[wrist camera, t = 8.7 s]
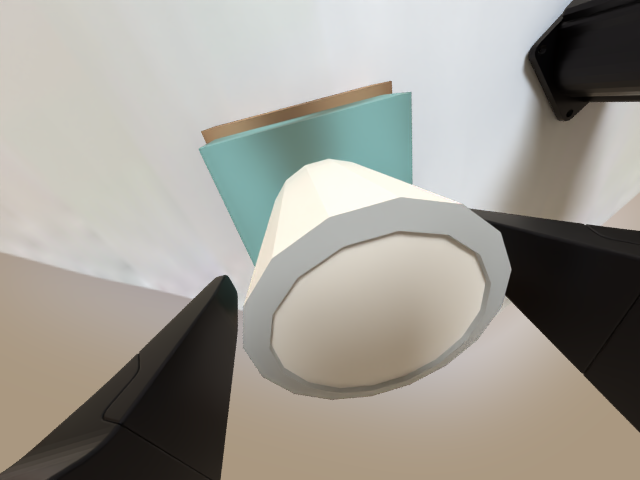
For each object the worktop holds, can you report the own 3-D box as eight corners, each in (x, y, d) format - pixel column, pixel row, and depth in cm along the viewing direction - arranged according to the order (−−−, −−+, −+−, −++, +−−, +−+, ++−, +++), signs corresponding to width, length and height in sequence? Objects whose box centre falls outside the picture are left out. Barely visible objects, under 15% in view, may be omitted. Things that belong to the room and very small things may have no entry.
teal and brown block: (371, 85, 14) (423, 74, 9) (383, 223, 20) (420, 265, 15) (214, 126, 14) (179, 139, 9) (269, 255, 19) (266, 309, 14)
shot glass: (282, 118, 9) (292, 140, 3) (418, 172, 11) (575, 247, 5) (245, 256, 12) (215, 402, 6) (360, 280, 14) (419, 406, 8)
